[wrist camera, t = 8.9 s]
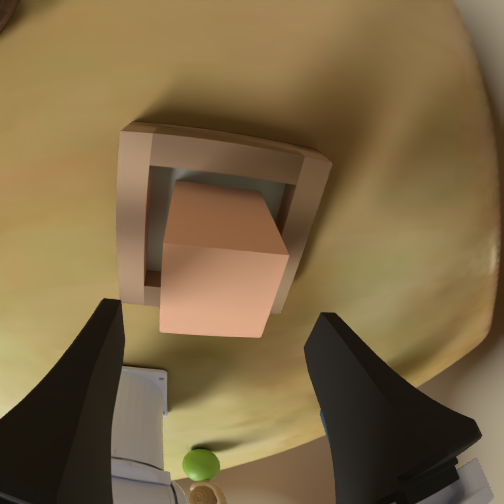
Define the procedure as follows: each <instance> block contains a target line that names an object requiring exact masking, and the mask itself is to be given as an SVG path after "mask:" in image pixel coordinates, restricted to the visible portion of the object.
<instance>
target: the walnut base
mask: <svg viewBox="0 0 504 504" xmlns="http://www.w3.org/2000/svg"><path fill="white" fill-rule="evenodd" d="M332 164H333V163H332V162H331V161H330V160H329V159H327V158H326V157H325V156H324V155H322V154H321V153H320V152H318V151H317V150H316V149H312V148H308V147H303V146H299V145H294V144H289V143H285V142H280V141H275V140H270V139H264V138H259V137H253V136H248V135H242V134H236V133H230V132H223V131H216V130H209V129H202V128H194V127H186V126H177V125H167V124H156V123H144V122H131V123H130V124H129V125H127V126H126V127H125V128H124V129H122V130H121V131H120V141H119V154H118V172H117V202H116V234H117V265H118V283H119V296H120V300H121V303H128V304H137V305H147V306H158V307H160V294H161V272H162V255H163V242H164V236H165V230H166V225H167V219H168V214H169V208H170V203H171V198H172V193H173V188H174V184H175V181H184V182H193V183H201V184H209V185H217V186H225V187H232V188H239V189H246V190H253V191H260V192H261V194H262V196H263V198H264V200H265V203H266V205H267V207H268V209H269V211H270V213H271V216H272V218H273V220H274V222H275V224H276V227H277V229H278V231H279V233H280V235H281V238H282V240H283V242H284V244H285V247H286V249H287V251H288V253H289V258H288V261H287V264H286V267H285V270H284V273H283V276H282V279H281V282H280V285H279V288H278V291H277V293H276V296H275V299H274V302H273V305H272V308H271V311H270V313H269V314H281V311H282V308H283V306H284V303H285V300H286V298H287V295H288V292H289V290H290V287H291V284H292V282H293V279H294V276H295V273H296V271H297V268H298V265H299V262H300V259H301V257H302V254H303V251H304V248H305V245H306V242H307V240H308V237H309V234H310V231H311V228H312V225H313V222H314V219H315V216H316V213H317V210H318V207H319V204H320V201H321V198H322V195H323V192H324V189H325V186H326V183H327V180H328V177H329V173H330V170H331V167H332Z"/></svg>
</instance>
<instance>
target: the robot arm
mask: <svg viewBox="0 0 504 504" xmlns="http://www.w3.org/2000/svg"><path fill="white" fill-rule="evenodd" d="M124 346H125V334H124V325H123V315H122V304H121V300H116V299H107V298H104V299H103V300H101V302H100V304H99V305H98V307H97V308H96V310H95V311H94V313H93V314H92V316H91V317H90V319H89V320H88V322H87V323H86V325H85V326H84V328H83V329H82V330H81V332H80V333H79V334H78V336H77V337H76V339H75V340H74V341H73V343H72V344H71V345H70V347H69V348H68V349H67V350H66V352H65V353H64V354H63V356H62V357H61V358H60V359H59V361H58V362H57V363H56V364H55V365H54V367H53V368H52V369H51V370H50V371H49V373H48V374H47V375H46V376H45V377H44V378H43V379H42V380H41V381H40V382H39V384H38V385H37V386H36V387H35V388H34V389H33V390H32V391H31V392H30V393H29V394H28V395H27V396H26V397H25V398H24V399H23V400H22V401H20V402H19V403H18V404H17V405H16V406H15V407H14V408H13V409H11V410H10V411H9V412H8V413H7V414H5V415H4V416H3V417H2V418H1V419H0V504H188V502H187V498H186V495H185V493H184V491H183V490H182V489H181V487H180V486H179V485H178V484H177V483H176V482H175V481H172V480H171V479H170V472H167V471H164V463H163V418H165V417H167V372H166V371H164V370H158V369H147V368H137V367H127V366H123V356H124ZM304 352H305V358H306V363H307V368H308V372H309V375H310V378H311V381H312V384H313V387H314V390H315V393H316V396H317V399H318V402H319V405H320V408H321V411H322V414H323V417H324V420H325V424H326V428H327V433H328V437H329V442H330V448H331V454H332V460H333V468H334V478H335V491H336V504H488V503H489V502H491V501H492V500H493V499H494V495H493V493H492V490H491V488H490V485H489V483H488V481H487V478H486V476H485V474H484V471H483V469H482V467H481V465H480V463H479V460H478V458H474V459H473V460H471V461H470V462H468V463H467V464H465V465H463V466H462V467H460V468H458V469H457V470H456V468H455V466H454V465H456V464H458V460H457V458H456V456H458V455H459V454H461V453H462V452H463V451H465V450H466V449H468V448H469V447H470V446H472V445H473V444H474V443H476V442H477V441H478V440H479V439H480V438H481V437H482V434H481V432H480V430H479V428H478V426H477V424H476V422H475V420H474V419H472V418H469V417H467V416H464V415H462V414H460V413H457V412H455V411H453V410H451V409H449V408H447V407H445V406H443V405H441V404H440V403H438V402H436V401H435V400H433V399H431V398H430V397H428V396H427V395H425V394H424V393H422V392H421V391H419V390H418V389H416V388H415V387H414V386H412V385H411V384H410V383H408V382H407V381H406V380H405V379H403V378H402V377H401V376H399V375H398V374H397V373H396V372H395V371H394V370H392V369H391V368H390V367H389V366H388V365H387V364H386V363H385V362H384V361H383V360H382V359H380V358H379V357H378V356H377V355H376V354H375V353H374V352H373V351H372V350H371V349H370V348H369V347H368V346H367V345H366V344H365V343H364V342H363V341H362V340H361V339H360V337H359V336H358V335H357V334H356V333H355V332H354V331H353V330H352V329H351V328H350V327H349V326H348V325H347V324H346V323H345V322H344V321H343V320H342V319H341V318H340V317H339V316H338V315H337V314H336V313H328V312H321V313H320V315H319V317H318V319H317V322H316V324H315V326H314V328H313V330H312V332H311V334H310V336H309V338H308V340H307V342H306V344H305V346H304Z"/></svg>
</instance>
